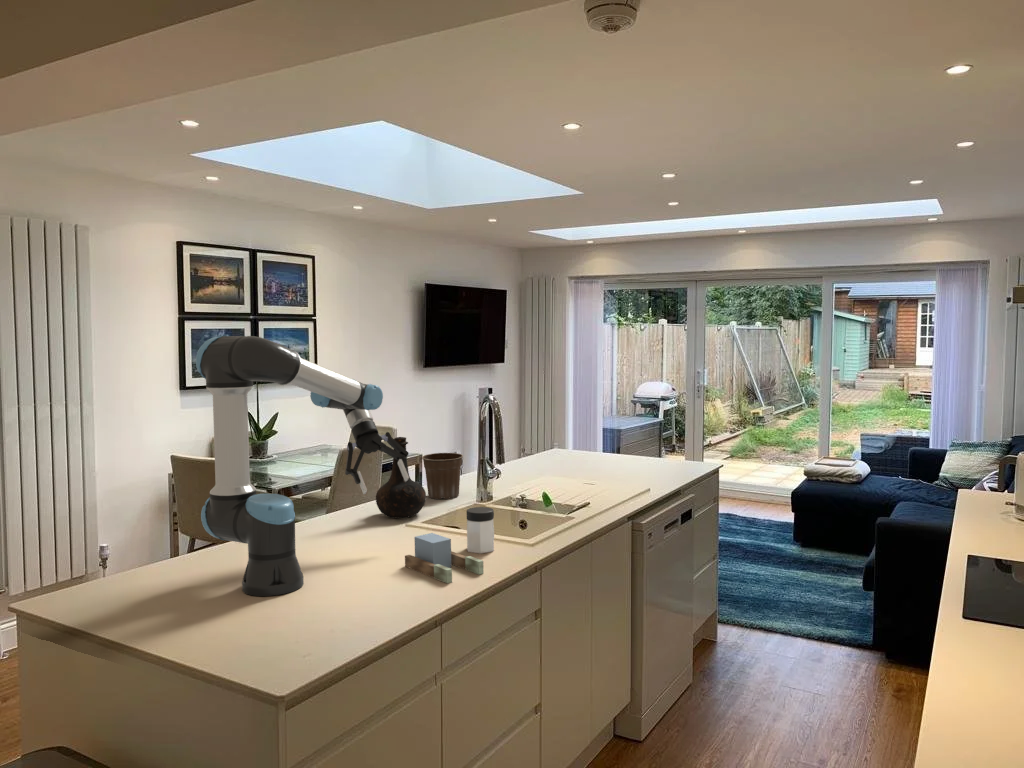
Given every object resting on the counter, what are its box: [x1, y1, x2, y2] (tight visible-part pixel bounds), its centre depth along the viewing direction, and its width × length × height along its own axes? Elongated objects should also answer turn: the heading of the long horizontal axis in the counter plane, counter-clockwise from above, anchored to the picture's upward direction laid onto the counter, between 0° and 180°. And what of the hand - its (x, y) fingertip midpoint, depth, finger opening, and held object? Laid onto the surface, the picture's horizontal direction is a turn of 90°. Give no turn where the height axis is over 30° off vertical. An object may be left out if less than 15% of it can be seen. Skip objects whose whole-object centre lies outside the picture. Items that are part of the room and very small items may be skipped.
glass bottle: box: [375, 436, 427, 519], centre depth 271 cm, size 18×18×28 cm
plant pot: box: [421, 452, 464, 500], centre depth 303 cm, size 16×16×16 cm
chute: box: [404, 550, 484, 584], centre depth 210 cm, size 20×12×4 cm, turn 41°
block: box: [414, 532, 452, 569], centre depth 214 cm, size 9×6×8 cm, turn 41°
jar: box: [466, 506, 495, 555], centre depth 229 cm, size 9×8×12 cm
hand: (386, 485), depth 232 cm, fingers open, 13 cm apart
